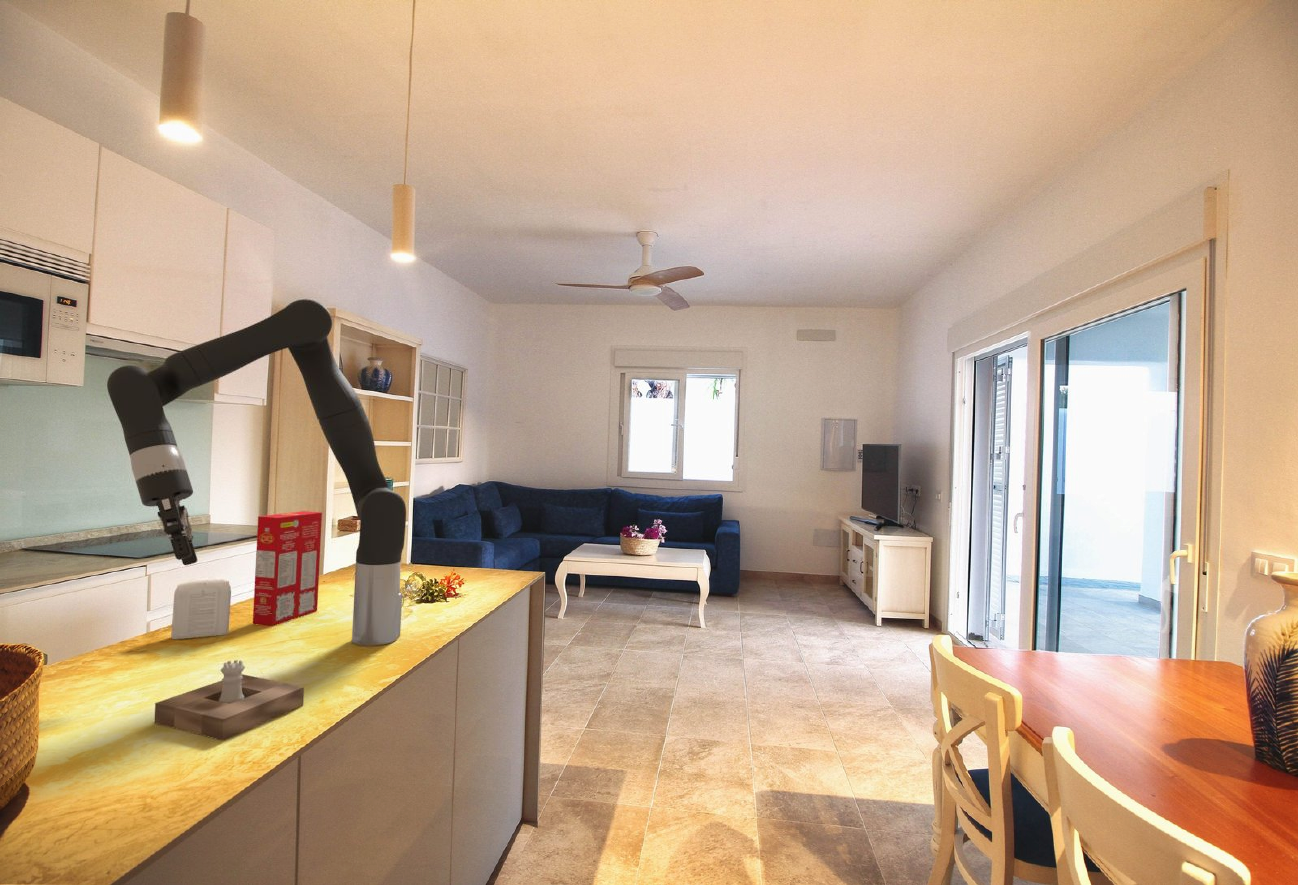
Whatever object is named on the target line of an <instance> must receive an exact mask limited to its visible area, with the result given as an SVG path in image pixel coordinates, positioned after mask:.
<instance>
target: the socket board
mask: <svg viewBox="0 0 1298 885" xmlns="http://www.w3.org/2000/svg"><path fill="white" fill-rule="evenodd" d="M241 675H242V676H243V678H242V679H241V687H242V694H243V695H244V699H241V700H239V701H236V702H233V703H231V704H227V703H223V702H219V698H220V697H221V693H222V689H223V681H222V680H219V681H217V682H213V683H211V684H207V685H204V686H202V687H201V686H200V687H198V688H195V689H192V690H189V691H187V692H183V693H180V694H178V695H175V696H173V697H169V698H166V699H163V700H161V701H157V702H155V704H154V717H153V718H154V724H157V725H161V726H165V727H169V728H172V727H173V728H172V729H176V728H177V729H176V730H180V731H185V732H188V731H189V733H191V732H193V734H197V735H201V736H203V735H205V736H204V737H207V736H209V737H208V738H211V737H212V738H213V739H215V738H216V740H219V741H225V740H227V739H229V738H231V737H234V736H235V735H239V734H240V733H243V732H245V731H247V730H250V729H252V728H254V727H257V726H259V725H261V724H264V723H266V722H268V721H270V720H273V719H276V718H277V717H280V716H282V715H285V714H287V713H289V712H292V711H294V710H296V709H298V708H300V707H301V708H302V707H303V706H304V701H305V700H304V699H305V686H301V685H297V684H296V685H295V684H291V683H287V682H282V681H276V680H271V679H268V678H263V677H262V678H261V677H257V676H256V677H255V676H252V675H247V674H243V673H241ZM233 735H234V736H233Z"/></svg>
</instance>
